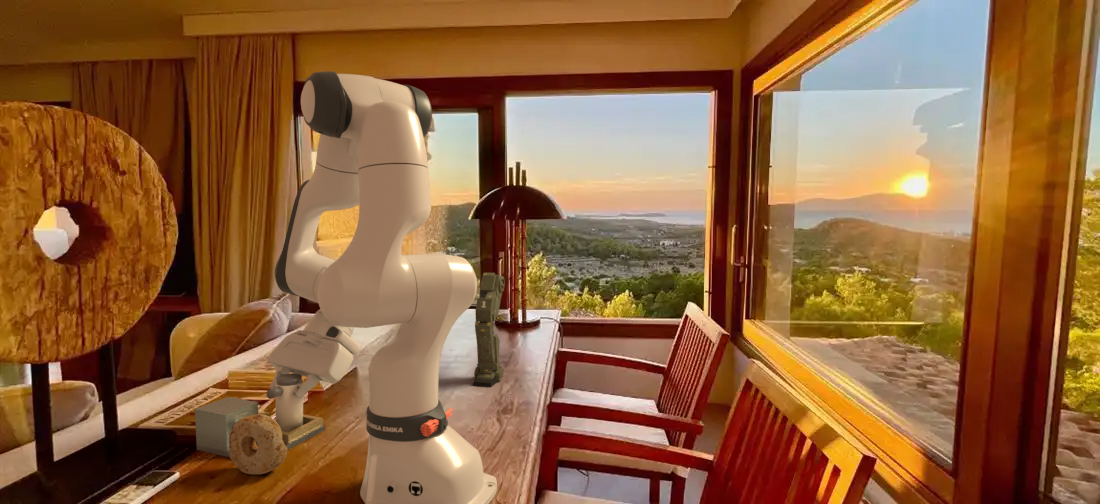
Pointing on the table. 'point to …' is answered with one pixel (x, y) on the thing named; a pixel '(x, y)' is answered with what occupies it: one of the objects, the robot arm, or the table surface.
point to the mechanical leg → (488, 331)
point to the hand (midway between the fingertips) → (285, 393)
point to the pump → (287, 402)
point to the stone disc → (246, 450)
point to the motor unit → (226, 412)
